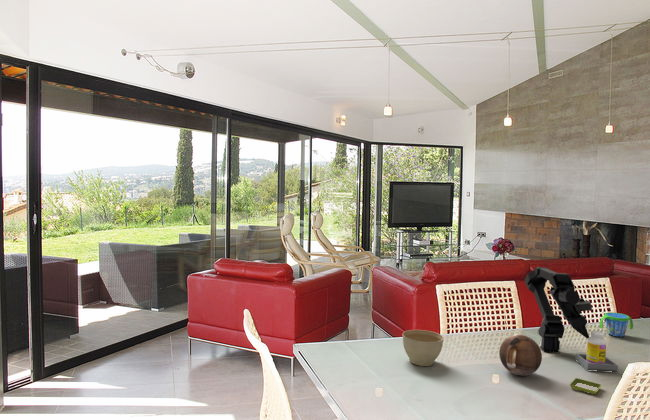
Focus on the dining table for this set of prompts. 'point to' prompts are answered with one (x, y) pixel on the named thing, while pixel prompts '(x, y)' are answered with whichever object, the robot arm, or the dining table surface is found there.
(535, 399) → the dining table surface
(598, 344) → the supplement bottle
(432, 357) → the planter bowl
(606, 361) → the tray
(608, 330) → the snack cup
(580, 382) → the green rectangular frame
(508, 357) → the wooden sphere
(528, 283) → the robot arm
